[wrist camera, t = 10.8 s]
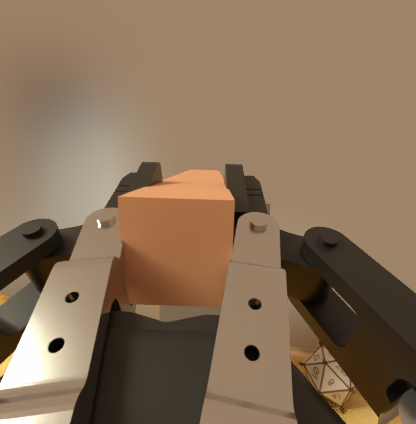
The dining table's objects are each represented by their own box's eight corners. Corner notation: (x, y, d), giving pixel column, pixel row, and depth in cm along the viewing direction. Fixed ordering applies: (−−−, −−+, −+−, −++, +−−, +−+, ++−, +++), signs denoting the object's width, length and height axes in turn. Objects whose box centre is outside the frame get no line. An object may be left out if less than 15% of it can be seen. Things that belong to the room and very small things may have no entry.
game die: (340, 417, 42) (386, 380, 39) (319, 432, 36) (372, 390, 34) (301, 363, 48) (340, 328, 46) (278, 369, 43) (321, 329, 40)
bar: (229, 307, 7) (235, 200, 7) (121, 303, 7) (117, 196, 7) (217, 197, 29) (218, 170, 28) (190, 196, 29) (191, 169, 28)
